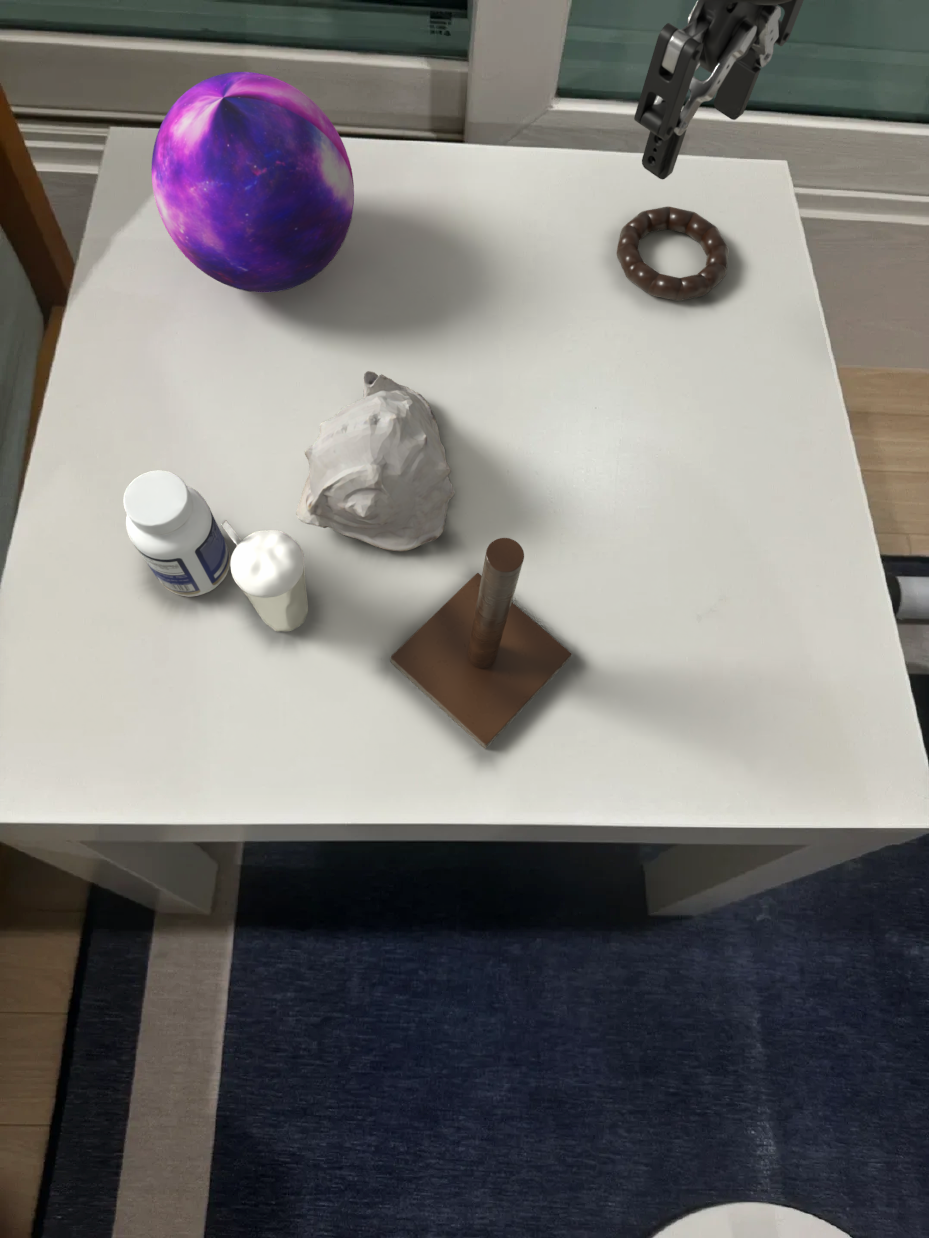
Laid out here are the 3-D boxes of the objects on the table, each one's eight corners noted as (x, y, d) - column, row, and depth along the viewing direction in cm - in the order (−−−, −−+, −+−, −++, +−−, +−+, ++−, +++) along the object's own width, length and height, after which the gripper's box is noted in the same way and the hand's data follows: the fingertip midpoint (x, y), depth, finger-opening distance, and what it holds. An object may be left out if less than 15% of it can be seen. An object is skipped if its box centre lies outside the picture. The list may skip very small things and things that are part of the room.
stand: (476, 578, 63) (498, 449, 47) (569, 659, 61) (625, 553, 45) (390, 662, 60) (382, 555, 44) (484, 749, 58) (512, 670, 42)
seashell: (422, 388, 69) (424, 300, 59) (473, 538, 64) (483, 467, 55) (272, 421, 67) (249, 334, 57) (312, 577, 62) (295, 511, 53)
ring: (660, 202, 77) (665, 186, 76) (745, 261, 75) (752, 246, 74) (593, 259, 75) (597, 243, 73) (680, 322, 72) (686, 307, 71)
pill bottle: (210, 518, 63) (176, 445, 54) (244, 575, 62) (216, 509, 53) (142, 553, 62) (96, 484, 53) (176, 611, 60) (134, 550, 51)
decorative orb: (181, 198, 74) (129, 23, 60) (354, 193, 76) (341, 22, 62) (178, 336, 69) (119, 180, 55) (364, 329, 70) (352, 174, 56)
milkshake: (272, 564, 62) (247, 495, 53) (330, 605, 61) (315, 542, 52) (230, 610, 61) (197, 548, 51) (289, 653, 60) (266, 597, 50)
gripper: (764, -36, 43) (672, 222, 58) (912, -147, 47) (790, 120, 62) (648, -106, 44) (588, 163, 59) (801, -207, 49) (709, 67, 64)
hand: (692, 141), depth 61 cm, fingers open, 8 cm apart
